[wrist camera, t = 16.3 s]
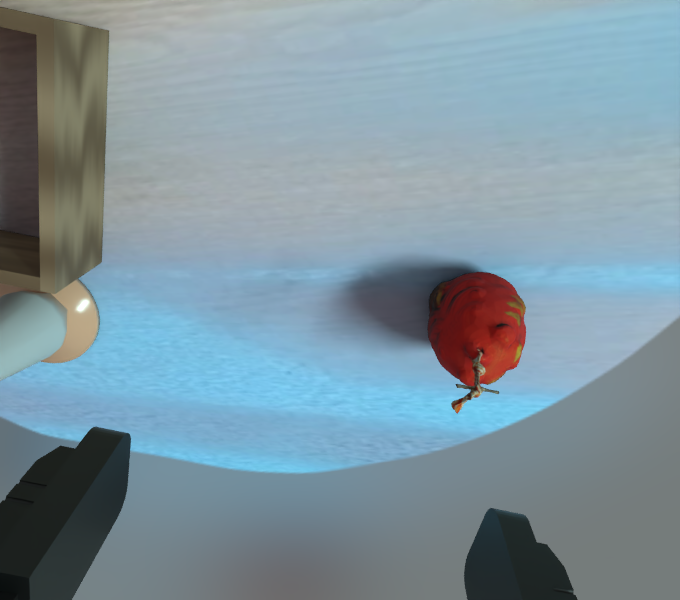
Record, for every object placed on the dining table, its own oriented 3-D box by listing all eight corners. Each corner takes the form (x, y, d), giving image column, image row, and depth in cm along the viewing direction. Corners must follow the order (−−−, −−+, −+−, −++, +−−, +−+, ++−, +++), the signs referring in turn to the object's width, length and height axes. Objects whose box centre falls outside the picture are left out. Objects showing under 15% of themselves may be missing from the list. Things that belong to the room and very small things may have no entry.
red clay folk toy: (478, 361, 45) (530, 485, 31) (405, 327, 44) (424, 439, 30) (529, 285, 42) (611, 384, 28) (451, 247, 41) (496, 330, 27)
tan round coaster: (-11, 251, 43) (-15, 253, 42) (101, 273, 43) (97, 276, 42) (-6, 348, 46) (-10, 351, 45) (98, 368, 46) (95, 372, 46)
